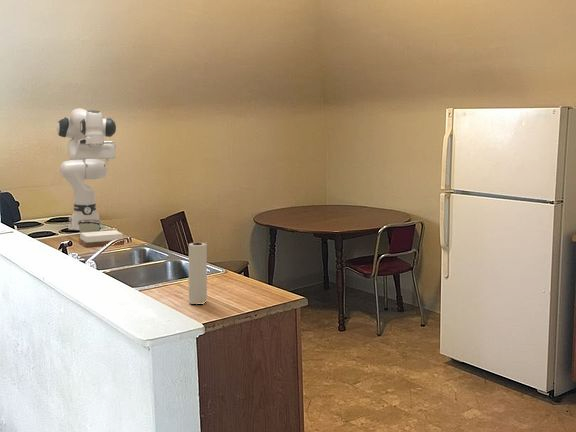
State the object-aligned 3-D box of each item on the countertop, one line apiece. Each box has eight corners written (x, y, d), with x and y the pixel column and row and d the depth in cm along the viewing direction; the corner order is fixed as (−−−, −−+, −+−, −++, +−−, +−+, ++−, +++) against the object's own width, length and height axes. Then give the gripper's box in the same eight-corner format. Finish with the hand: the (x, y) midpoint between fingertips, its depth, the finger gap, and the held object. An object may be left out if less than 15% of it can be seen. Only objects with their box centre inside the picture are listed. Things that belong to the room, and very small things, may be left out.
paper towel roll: (191, 306, 231) (191, 245, 228) (186, 301, 236) (186, 242, 233) (211, 304, 234) (211, 244, 230) (206, 300, 239) (206, 241, 236)
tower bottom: (79, 244, 338) (79, 238, 337) (116, 241, 347) (116, 235, 347) (86, 249, 327) (85, 243, 326) (124, 245, 336) (124, 239, 336)
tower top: (80, 238, 337) (80, 232, 337) (115, 235, 346) (115, 230, 346) (86, 242, 327) (86, 236, 326) (122, 239, 336) (122, 233, 336)
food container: (105, 238, 352) (105, 219, 350) (101, 240, 346) (100, 221, 344) (82, 237, 353) (82, 218, 351) (78, 239, 347) (77, 220, 345)
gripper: (115, 141, 356) (116, 167, 357) (75, 141, 352) (76, 168, 353) (115, 140, 350) (116, 167, 351) (74, 141, 346) (75, 167, 347)
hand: (96, 167), depth 352 cm, fingers open, 8 cm apart
